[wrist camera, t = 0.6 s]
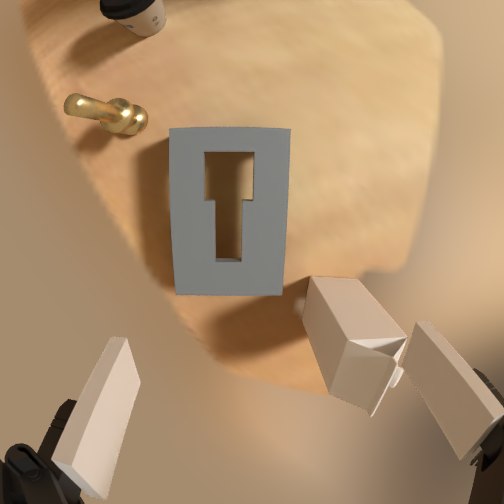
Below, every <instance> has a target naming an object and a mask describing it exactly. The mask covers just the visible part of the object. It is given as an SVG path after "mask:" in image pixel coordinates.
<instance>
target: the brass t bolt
mask: <svg viewBox="0 0 504 504" xmlns="http://www.w3.org/2000/svg"><path fill="white" fill-rule="evenodd" d="M64 111H65V113H66V114H67V115H71V116H77V117H82V118H88V119H93V120H99V121H100V123H101V126H102V127H103V129H104V130H106V131H107V132H111V133H123V134H126V135H137V134H139V133H141V132H142V131H143V130H144V129H145V127H146V126H147V123H148V115H147V112H146V111H145V110H144V109H143V108H142V107H140V106H138V105H132V104H131V103H130V102H129V101H127V100H125V99H122V98H115V99H112V100H110V101H109V102H107V103H105V102H102V101H99V100H96V99H93V98H90V97H87V96H84V95H80V94H77V93H73V94H71V95H70V96H68V97H67V99H66V100H65V103H64Z"/></svg>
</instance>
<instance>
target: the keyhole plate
mask: <svg viewBox="0 0 504 504" xmlns="http://www.w3.org/2000/svg"><path fill="white" fill-rule="evenodd" d="M290 130H291V129H282V128H261V127H191V128H170V129H169V190H170V220H171V239H172V255H173V269H174V281H175V292H176V295H212V296H262V295H282V290H283V276H284V261H285V245H286V228H287V209H288V187H289V162H290ZM205 152H254V167H253V200H246V199H242V244H241V258H216V232H215V199H205Z"/></svg>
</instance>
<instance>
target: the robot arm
mask: <svg viewBox="0 0 504 504" xmlns="http://www.w3.org/2000/svg"><path fill="white" fill-rule="evenodd" d="M402 367H403V369H404V370H405V372H406V373H407V375H408V376H409V378H410V379H411V381H412V382H413V384H414V386H415V387H416V389H417V390H418V392H419V393H420V395H421V396H422V398H423V400H424V401H425V403H426V404H427V406H428V407H429V409H430V411H431V412H432V414H433V416H434V417H435V419H436V421H437V422H438V424H439V426H440V427H441V429H442V431H443V432H444V434H445V436H446V437H447V439H448V441H449V443H450V444H451V446H452V447H453V449H454V451H455V453H456V455H457V457H458V458H459V460H460V461H461V460H462V459H464V458H466V457H468V456H470V455H471V454H473V453H474V452H475V451H476V449H477V448H478V447H479V446H481V448H482V450H481V451H480V452H479V453H478V455H477V456H476V457H475V458H474V459H473V460H472V461H471V464H470V465H473V464H474V463H475V461H476V460H477V459H478V462H477V463H476V464H475V466H477V468H476V474H475V478H474V483H473V487H472V491H471V495H470V499H469V503H468V504H504V398H503V397H502V396H501V394H500V393H499V392H498V391H497V389H494V386H493V385H492V384H491V383H490V382H489V380H488V379H487V378H486V377H485V375H484V374H483V373H481V372H480V371H478V370H477V369H475V368H474V369H472V368H471V367H470V366H469V365H468V364H467V363H466V361H465V360H464V359H463V358H462V357H461V356H460V355H459V353H458V352H457V351H456V350H455V349H454V348H453V347H452V346H451V345H450V344H449V342H447V340H446V339H445V338H444V337H443V336H442V335H441V334H440V333H439V332H438V330H437V329H436V328H435V327H434V326H433V325H432V324H431V323H430V322H429V321H428V320H426V321H420V322H416V324H415V327H414V330H413V333H412V337H411V340H410V343H409V346H408V349H407V352H406V354H405V357H404V360H403V363H402ZM139 386H140V379H139V376H138V373H137V370H136V367H135V364H134V361H133V357H132V354H131V350H130V347H129V344H128V340H127V338H124V337H123V338H122V337H111V338H110V340H109V342H108V344H107V345H106V347H105V349H104V351H103V353H102V354H101V356H100V358H99V360H98V362H97V364H96V366H95V368H94V370H93V371H92V373H91V375H90V377H89V379H88V381H87V383H86V385H85V387H84V389H83V391H82V393H81V395H80V397H79V399H78V401H75V400H71V399H68V400H67V401H66V402H64V403H63V404H62V405H61V406H60V407H59V409H58V411H57V413H56V415H55V419H53V421H52V423H51V427H49V429H48V431H47V433H46V435H45V437H44V439H43V442H42V444H41V446H40V448H39V450H38V452H37V453H36V452H35V451H34V450H33V449H32V448H31V447H30V446H28V445H26V444H22V443H21V444H15V445H14V446H12V447H10V448H9V449H8V451H7V453H6V455H5V463H3V462H2V461H1V460H0V504H84V502H83V500H82V498H81V497H80V492H81V490H82V491H83V492H85V493H86V494H87V495H88V496H91V497H94V498H98V499H101V500H105V501H106V500H107V497H108V493H109V488H110V484H111V481H112V477H113V473H114V469H115V466H116V462H117V458H118V455H119V451H120V447H121V444H122V440H123V437H124V434H125V431H126V427H127V424H128V421H129V417H130V414H131V411H132V408H133V404H134V402H135V398H136V395H137V392H138V389H139Z"/></svg>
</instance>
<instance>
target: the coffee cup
mask: <svg viewBox="0 0 504 504" xmlns="http://www.w3.org/2000/svg"><path fill="white" fill-rule="evenodd" d="M100 10H101V12H102V14H103V15H104V16H105V17H107V18H108V19H113V20H115V21H117V22H118V23H120V24H121V25H123V26H124V27H126V28H127V29H129V30H131V31H132V32H134V33H135V34H137V35H138V36H141V37H149V36H152V35H154V34H156V33H158V32H159V31H160V30H161V29H162V28H163V27H164V25H165V23H166V14H165V10H164V5H163V0H100Z"/></svg>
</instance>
